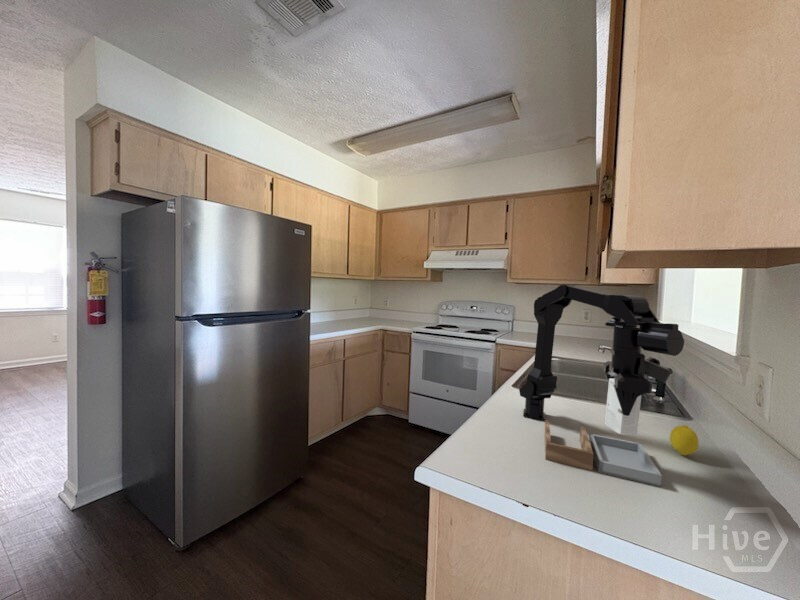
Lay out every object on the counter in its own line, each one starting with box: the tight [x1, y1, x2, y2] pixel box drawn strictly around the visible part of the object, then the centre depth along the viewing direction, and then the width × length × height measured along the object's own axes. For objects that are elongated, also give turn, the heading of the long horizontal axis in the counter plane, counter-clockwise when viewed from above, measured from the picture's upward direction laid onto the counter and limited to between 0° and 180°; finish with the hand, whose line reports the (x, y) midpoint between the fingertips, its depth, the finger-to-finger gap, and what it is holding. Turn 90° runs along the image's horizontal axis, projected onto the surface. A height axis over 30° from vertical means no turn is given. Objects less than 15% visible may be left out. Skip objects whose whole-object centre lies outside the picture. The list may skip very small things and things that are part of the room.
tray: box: [588, 433, 663, 488], centre depth 78 cm, size 16×12×3 cm
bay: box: [543, 419, 594, 471], centre depth 83 cm, size 16×10×4 cm, turn 156°
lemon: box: [669, 424, 699, 457], centre depth 82 cm, size 6×6×8 cm
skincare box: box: [604, 378, 642, 436], centre depth 77 cm, size 6×4×12 cm
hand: (622, 410), depth 77 cm, fingers closed on skincare box, 7 cm apart
